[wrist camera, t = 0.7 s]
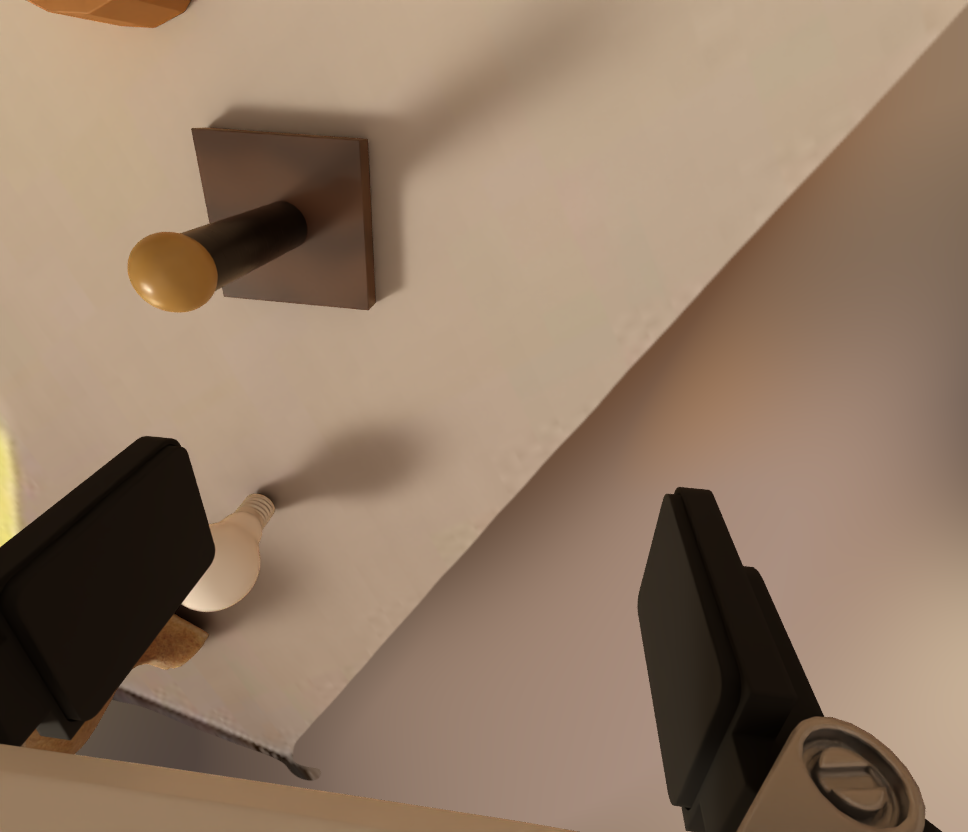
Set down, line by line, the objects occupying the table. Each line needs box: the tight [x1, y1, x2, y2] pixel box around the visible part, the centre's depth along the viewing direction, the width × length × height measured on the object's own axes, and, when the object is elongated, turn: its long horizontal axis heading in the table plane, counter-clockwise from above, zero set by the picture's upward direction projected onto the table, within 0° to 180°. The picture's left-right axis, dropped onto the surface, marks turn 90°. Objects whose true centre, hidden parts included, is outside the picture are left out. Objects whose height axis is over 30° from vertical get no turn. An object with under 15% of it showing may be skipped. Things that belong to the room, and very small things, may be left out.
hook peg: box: [128, 201, 307, 312], centre depth 27 cm, size 3×3×13 cm
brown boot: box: [26, 614, 209, 754], centre depth 51 cm, size 15×12×15 cm
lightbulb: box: [182, 494, 275, 612], centre depth 42 cm, size 6×6×11 cm
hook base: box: [191, 128, 376, 310], centre depth 34 cm, size 10×10×2 cm
